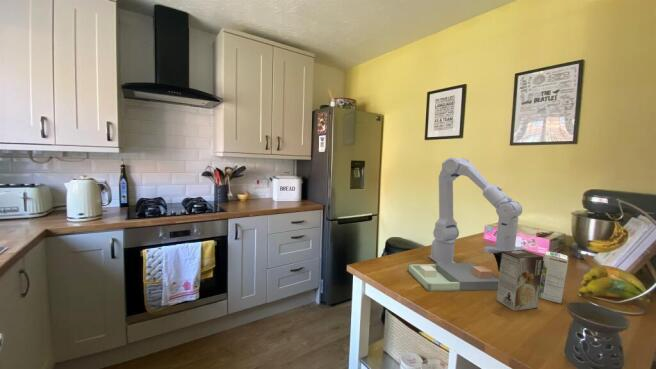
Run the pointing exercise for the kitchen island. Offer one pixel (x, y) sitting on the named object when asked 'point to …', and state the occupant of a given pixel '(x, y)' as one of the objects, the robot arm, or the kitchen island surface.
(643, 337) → the kitchen island surface
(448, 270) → the slate board
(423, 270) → the tile
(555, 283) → the syrup box
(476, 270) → the peach square block
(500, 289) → the coffee box
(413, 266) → the tray
